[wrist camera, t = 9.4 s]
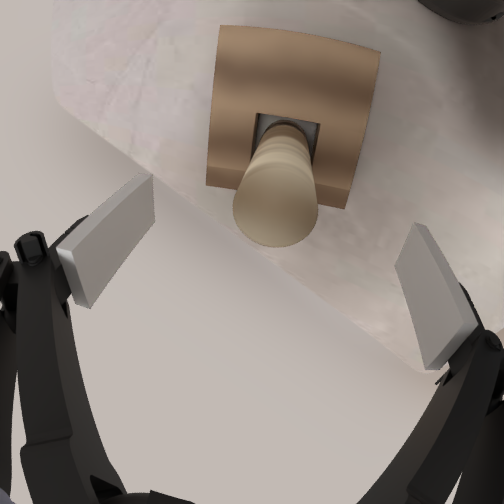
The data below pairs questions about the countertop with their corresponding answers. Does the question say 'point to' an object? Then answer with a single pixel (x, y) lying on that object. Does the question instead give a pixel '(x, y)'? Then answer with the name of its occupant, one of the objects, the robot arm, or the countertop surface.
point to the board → (290, 102)
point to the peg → (278, 189)
